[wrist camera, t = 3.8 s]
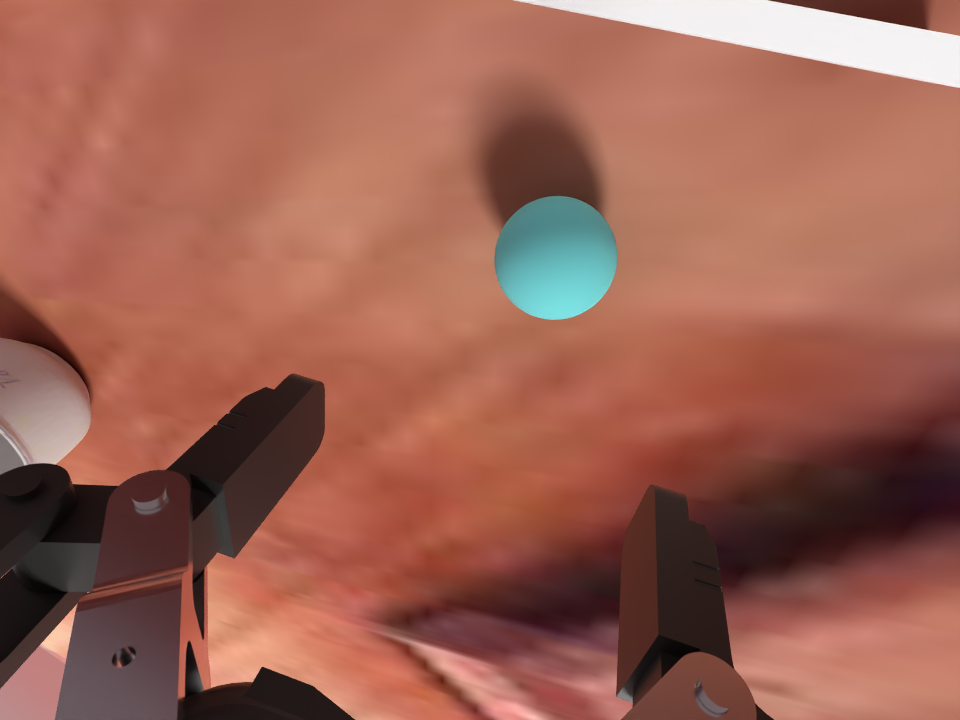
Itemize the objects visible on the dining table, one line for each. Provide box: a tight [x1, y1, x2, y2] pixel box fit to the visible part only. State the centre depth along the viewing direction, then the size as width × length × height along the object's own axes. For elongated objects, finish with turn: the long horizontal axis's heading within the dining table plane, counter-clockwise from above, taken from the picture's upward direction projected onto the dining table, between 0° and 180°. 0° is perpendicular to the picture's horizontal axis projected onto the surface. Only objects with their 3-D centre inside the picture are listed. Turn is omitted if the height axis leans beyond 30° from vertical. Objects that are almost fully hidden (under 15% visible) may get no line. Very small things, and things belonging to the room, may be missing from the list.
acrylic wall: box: [514, 0, 960, 88], centre depth 19 cm, size 22×1×5 cm, turn 81°
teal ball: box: [495, 196, 617, 320], centre depth 24 cm, size 6×6×6 cm
